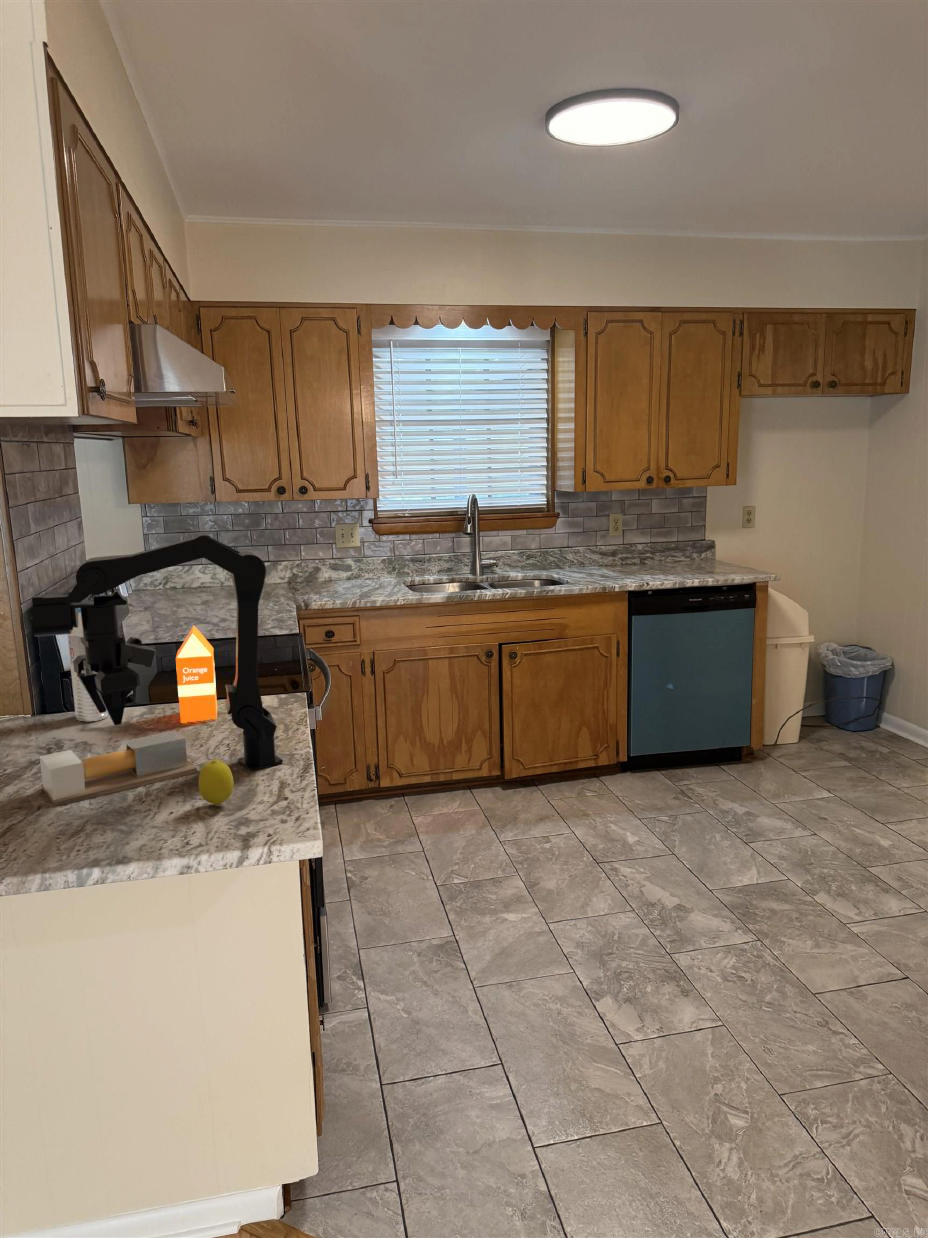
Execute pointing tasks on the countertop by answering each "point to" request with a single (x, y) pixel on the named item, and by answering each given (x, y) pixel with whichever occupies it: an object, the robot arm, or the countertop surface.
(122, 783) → the walnut board
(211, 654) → the orange juice
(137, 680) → the robot arm
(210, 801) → the lemon
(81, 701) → the water bottle
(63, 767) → the white socket
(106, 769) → the orange tube
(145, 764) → the steel sleeve
